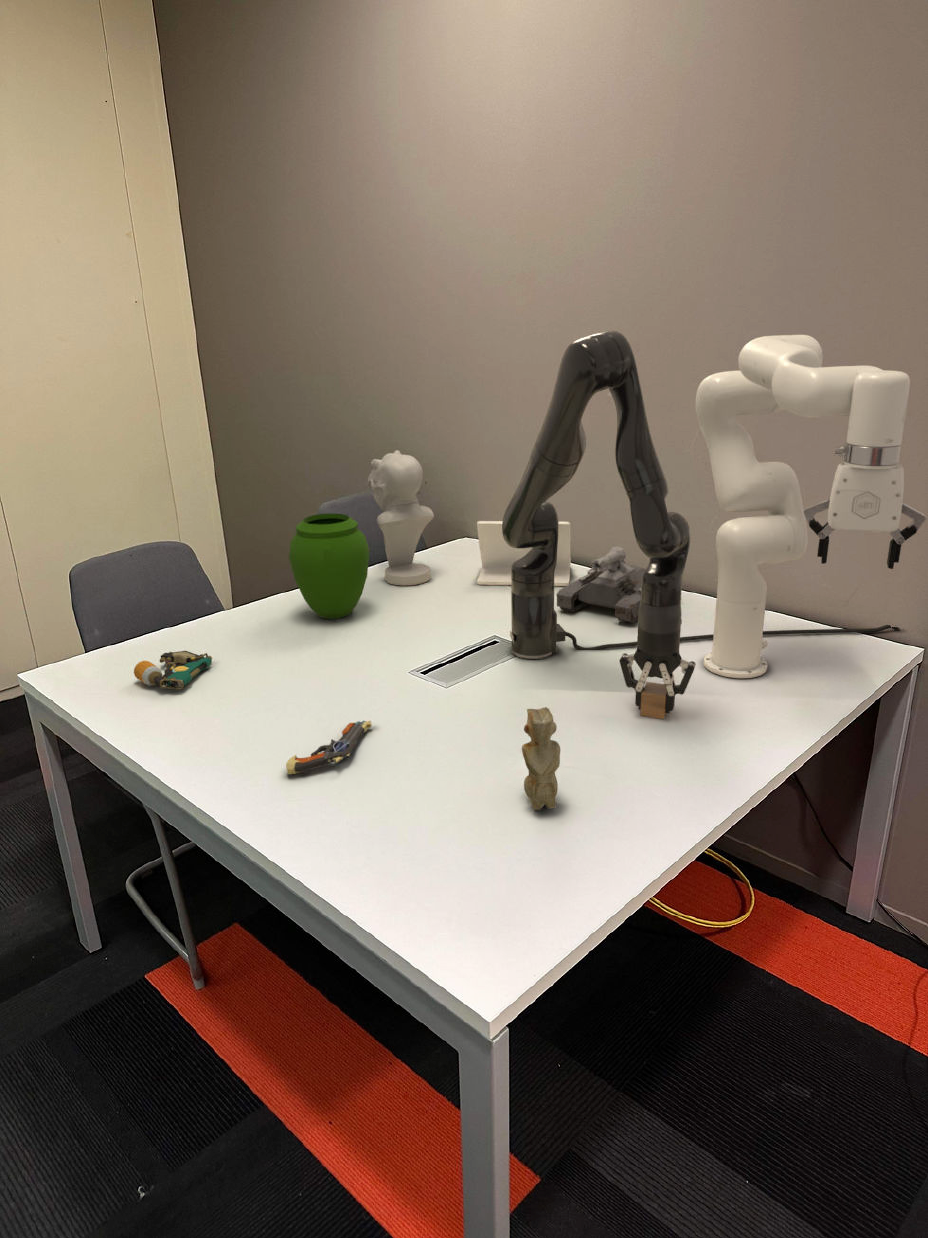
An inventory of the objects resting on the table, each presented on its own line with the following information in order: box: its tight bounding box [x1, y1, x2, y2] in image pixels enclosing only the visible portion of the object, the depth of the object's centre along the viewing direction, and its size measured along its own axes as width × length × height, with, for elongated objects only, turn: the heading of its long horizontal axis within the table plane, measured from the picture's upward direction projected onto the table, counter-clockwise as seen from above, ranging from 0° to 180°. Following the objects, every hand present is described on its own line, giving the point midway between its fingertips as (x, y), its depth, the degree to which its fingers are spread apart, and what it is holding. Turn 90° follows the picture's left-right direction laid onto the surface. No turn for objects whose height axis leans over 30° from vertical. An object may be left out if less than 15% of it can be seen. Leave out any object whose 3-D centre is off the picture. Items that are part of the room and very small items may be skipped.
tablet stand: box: [476, 520, 572, 587], centre depth 236 cm, size 18×25×17 cm
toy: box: [556, 546, 646, 624], centre depth 212 cm, size 25×20×15 cm
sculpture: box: [521, 706, 561, 811], centre depth 129 cm, size 6×7×15 cm
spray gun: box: [133, 650, 213, 690], centre depth 180 cm, size 4×17×15 cm
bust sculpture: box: [366, 449, 435, 586], centre depth 237 cm, size 16×24×35 cm
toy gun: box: [285, 720, 373, 775], centre depth 148 cm, size 3×19×10 cm
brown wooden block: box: [639, 681, 667, 720], centre depth 159 cm, size 5×4×5 cm
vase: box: [288, 512, 370, 620], centre depth 209 cm, size 20×20×24 cm
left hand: (654, 709), depth 159 cm, fingers closed on brown wooden block, 4 cm apart
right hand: (856, 563), depth 135 cm, fingers open, 9 cm apart
